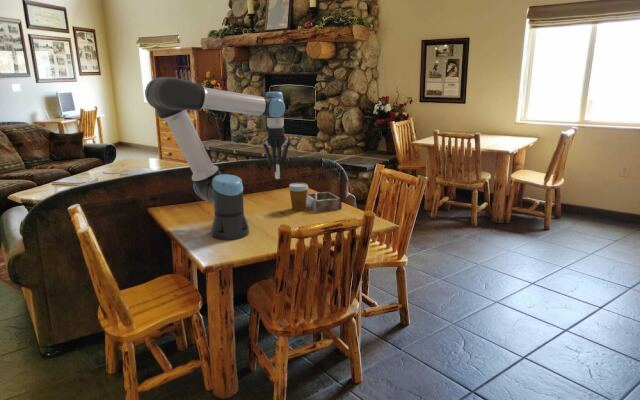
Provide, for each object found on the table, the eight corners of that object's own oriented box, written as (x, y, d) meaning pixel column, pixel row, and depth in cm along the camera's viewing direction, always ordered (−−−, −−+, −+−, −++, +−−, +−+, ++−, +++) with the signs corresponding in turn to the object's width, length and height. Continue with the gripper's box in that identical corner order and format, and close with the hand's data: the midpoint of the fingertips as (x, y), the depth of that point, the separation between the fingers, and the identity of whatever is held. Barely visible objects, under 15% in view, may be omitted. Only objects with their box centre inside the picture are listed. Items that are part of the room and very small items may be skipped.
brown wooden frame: (317, 211, 212) (317, 201, 211) (305, 203, 226) (305, 193, 224) (341, 209, 217) (341, 198, 215) (328, 201, 230) (328, 191, 229)
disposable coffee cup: (312, 208, 218) (312, 184, 215) (301, 213, 210) (301, 188, 207) (296, 205, 223) (296, 181, 220) (285, 210, 215) (284, 185, 212)
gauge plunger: (313, 211, 213) (313, 192, 211) (305, 205, 223) (305, 187, 221) (324, 209, 215) (324, 191, 213) (316, 204, 225) (316, 186, 223)
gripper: (263, 128, 197) (266, 181, 203) (292, 127, 201) (293, 178, 208) (259, 127, 203) (261, 178, 210) (286, 125, 208) (288, 175, 214)
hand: (277, 178), depth 209 cm, fingers closed
